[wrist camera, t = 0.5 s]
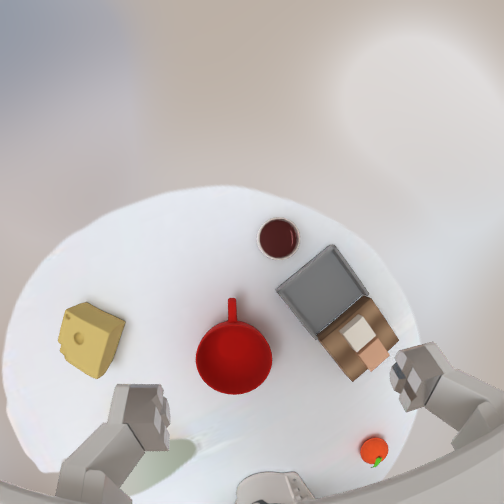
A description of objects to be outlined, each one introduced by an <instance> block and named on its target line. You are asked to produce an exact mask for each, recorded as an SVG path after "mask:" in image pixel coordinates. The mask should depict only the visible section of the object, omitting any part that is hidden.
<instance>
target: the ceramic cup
mask: <svg viewBox="0 0 504 504" xmlns="http://www.w3.org/2000/svg"><path fill="white" fill-rule="evenodd" d="M196 366H197V370H198V372H199V375H200V376H201V378H202V379H203V381H204V382H205V383H206V384H207V385H208V386H210V387H211V388H213V389H214V390H216V391H219V392H221V393H225V394H233V395H236V394H243V393H247V392H250V391H252V390H254V389H256V388H257V387H258V386H260V385H261V384H262V383H263V382H264V380H265V379H266V378H267V376H268V374H269V372H270V369H271V366H272V353H271V350H270V347H269V344H268V343H267V341H266V339H265V338H264V336H263V335H262V334H261V333H260V332H259V331H258V330H257V329H256V328H254V327H253V326H251V325H249V324H247V323H244V322H241V321H237V310H236V299H235V298H229V299H228V321H226V322H223V323H219V324H218V325H216V326H214V327H212V328H211V329H210V330H209V331H208V332H207V333H206V334H205V335H204V337H203V338H202V340H201V342H200V344H199V346H198V348H197V352H196Z"/></svg>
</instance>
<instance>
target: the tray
mask: <svg viewBox="0 0 504 504" xmlns="http://www.w3.org/2000/svg"><path fill="white" fill-rule="evenodd" d="M275 290H276V291H277V293H278V294H279V295H280V296H281V298H282V299H283V300H284V302H285V303H286V304H287V305H288V307H289V308H290V309H291V310H292V312H293V313H294V314H295V315H296V317H297V318H298V319H299V320H300V322H301V323H302V324H303V325H304V327H305V328H306V329H307V330H308V332H309V333H310V334H311V335H312V337H313V338H314V339H315V340H317V339H318V337H317V336H316V335H315V334H317V333H318V332H319V331H320V330H322V329H323V328H324V327H325V326H326V325H328V324H329V323H330V322H331V321H332V320H334V319H335V318H336V317H337V316H338V315H339V314H341V313H342V312H343V311H344V310H345V309H346V308H347V307H349V306H350V305H351V304H352V303H353V302H354V301H355V300H357V299H358V298H359V297H360V296H361V295H362V294H363V295H366V296H368V295H369V292H368V291H367V290H366V288H365V287H364V285H363V284H362V282H361V281H360V280H359V278H358V277H357V275H356V274H355V272H354V271H353V270H352V268H351V267H350V265H349V264H348V263H347V261H346V260H345V258H344V257H343V256H342V254H341V253H340V252H339V250H338V249H337V247H336V246H335V245H329V246H328V247H326V248H325V249H324V250H323V251H322V252H320V253H319V254H318V255H317V256H316V257H314V258H313V259H312V260H311V261H310V262H308V263H307V264H306V265H305V266H303V267H302V268H301V269H300V270H299V271H297V272H296V273H295V274H294V275H292V276H291V277H290V278H289V279H288V280H286V281H285V282H284V283H283V284H281V285H280V286H279V287H278V288H276V289H275Z"/></svg>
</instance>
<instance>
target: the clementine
mask: <svg viewBox="0 0 504 504" xmlns="http://www.w3.org/2000/svg"><path fill="white" fill-rule="evenodd" d="M360 454H361V458H362V459H363V460H364V461H365V462H366V463H369V464H374V466H373V467H376V466H377V465H378V464H379V463H380V462H381V461H383V460H384V459H385V458H386V456H387V454H388V445H387V443H386V442H385V441H384V440H383V439H381V438H371V439H369V440H367V441H366V442H365V443H364V444H363V445H362V447H361V451H360ZM373 467H371V468H373Z"/></svg>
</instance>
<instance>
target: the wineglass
mask: <svg viewBox="0 0 504 504" xmlns="http://www.w3.org/2000/svg"><path fill="white" fill-rule="evenodd" d="M299 244H300V234H299V230H298V229H297V227H296V225H295V224H294V223H293V222H291V221H290V220H288V219H286V218H280V217H276V218H272V219H270V220H268V221H266V222H265V223H263V224H262V225H261V227H260V228H259V230H258V233H257V245H258V248H259V250H260V251H261V253H262V254H264V255H265V256H266V257H267V258H270V259H273V260H283V259H287V258H289V257H291V256H292V255H293V254H294V253H295V252H296V251H297V249H298V247H299Z"/></svg>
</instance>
